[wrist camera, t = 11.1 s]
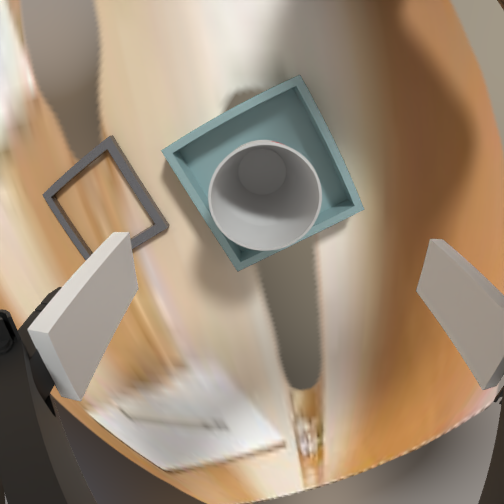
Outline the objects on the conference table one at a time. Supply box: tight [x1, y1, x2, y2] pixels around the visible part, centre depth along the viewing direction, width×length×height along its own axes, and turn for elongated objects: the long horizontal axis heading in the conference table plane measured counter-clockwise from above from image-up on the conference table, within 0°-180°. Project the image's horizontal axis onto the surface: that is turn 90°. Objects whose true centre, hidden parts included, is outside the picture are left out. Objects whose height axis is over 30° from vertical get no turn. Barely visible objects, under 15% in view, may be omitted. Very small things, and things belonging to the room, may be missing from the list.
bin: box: [161, 75, 364, 271], centre depth 30 cm, size 15×15×3 cm
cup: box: [208, 140, 322, 251], centre depth 27 cm, size 8×8×10 cm
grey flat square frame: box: [43, 135, 169, 260], centre depth 33 cm, size 12×12×1 cm
